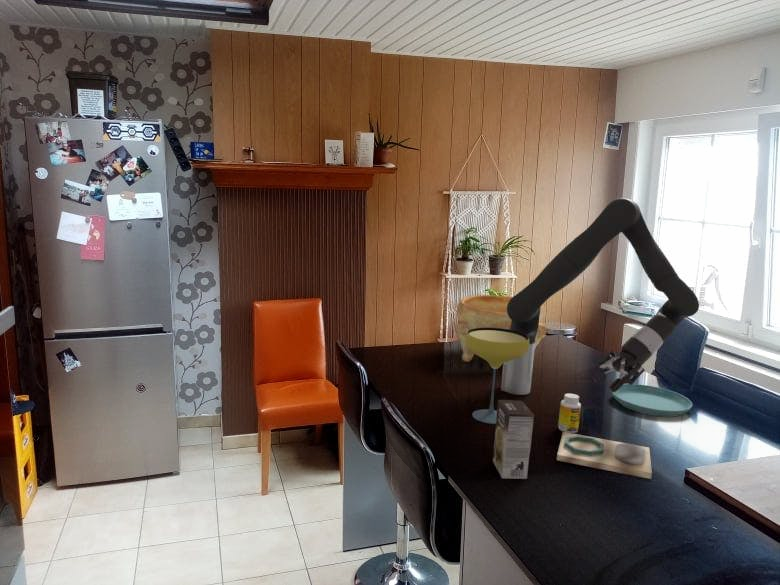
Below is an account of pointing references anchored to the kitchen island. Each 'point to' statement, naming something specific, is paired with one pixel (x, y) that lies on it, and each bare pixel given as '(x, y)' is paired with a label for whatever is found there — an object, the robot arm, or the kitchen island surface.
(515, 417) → the coffee box
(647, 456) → the carrier board
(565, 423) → the supplement bottle
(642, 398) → the saucer
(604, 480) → the kitchen island surface
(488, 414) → the cocktail glass
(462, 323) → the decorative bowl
